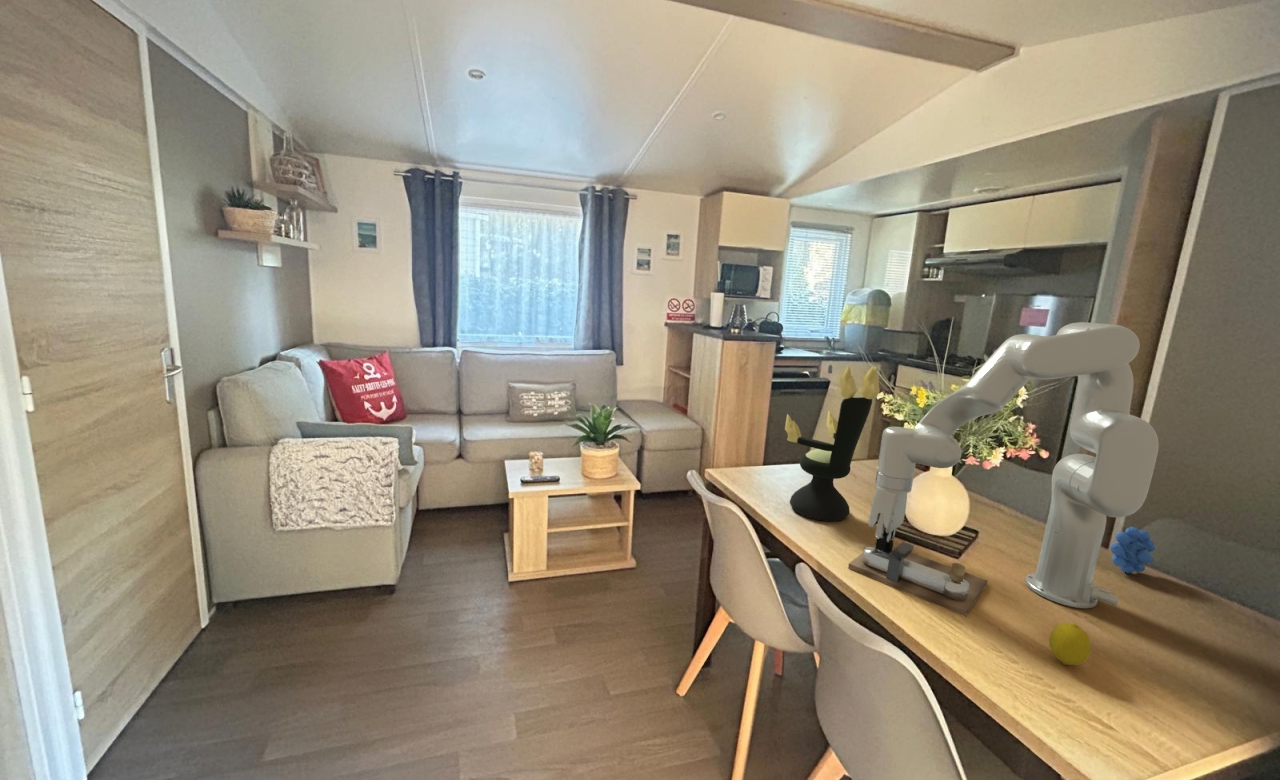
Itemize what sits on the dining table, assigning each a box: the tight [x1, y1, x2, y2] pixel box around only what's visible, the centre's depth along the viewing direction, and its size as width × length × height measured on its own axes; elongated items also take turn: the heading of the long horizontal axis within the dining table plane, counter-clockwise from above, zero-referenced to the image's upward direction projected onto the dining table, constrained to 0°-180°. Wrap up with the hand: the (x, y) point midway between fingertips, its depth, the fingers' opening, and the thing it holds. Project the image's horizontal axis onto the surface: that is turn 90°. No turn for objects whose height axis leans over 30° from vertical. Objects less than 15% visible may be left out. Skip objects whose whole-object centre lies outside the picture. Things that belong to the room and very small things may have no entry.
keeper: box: [886, 541, 915, 583], centre depth 116 cm, size 2×8×6 cm, turn 135°
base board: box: [848, 542, 988, 618], centre depth 118 cm, size 24×18×8 cm
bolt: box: [863, 546, 969, 600], centre depth 115 cm, size 21×5×3 cm, turn 48°
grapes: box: [1109, 526, 1156, 574], centre depth 125 cm, size 12×7×12 cm, turn 98°
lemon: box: [1049, 622, 1092, 666], centre depth 91 cm, size 6×6×8 cm
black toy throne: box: [784, 365, 880, 522], centre depth 147 cm, size 19×22×45 cm
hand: (882, 554), depth 122 cm, fingers closed
